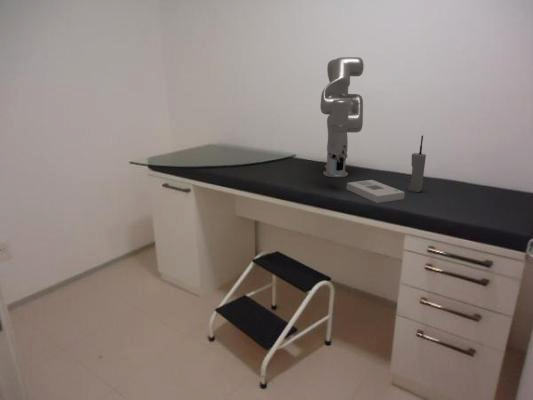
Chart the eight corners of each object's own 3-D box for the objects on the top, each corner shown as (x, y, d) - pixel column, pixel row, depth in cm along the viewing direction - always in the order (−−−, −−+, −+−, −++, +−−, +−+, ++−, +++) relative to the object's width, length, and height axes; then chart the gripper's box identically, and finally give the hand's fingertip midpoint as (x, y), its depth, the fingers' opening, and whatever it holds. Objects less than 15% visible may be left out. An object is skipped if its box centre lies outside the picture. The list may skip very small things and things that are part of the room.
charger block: (329, 173, 184) (329, 158, 181) (337, 171, 185) (338, 157, 183) (334, 175, 180) (335, 160, 177) (343, 174, 181) (344, 159, 179)
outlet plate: (346, 189, 183) (346, 182, 182) (371, 185, 188) (372, 179, 187) (377, 203, 163) (377, 195, 162) (404, 199, 169) (404, 191, 168)
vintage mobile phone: (410, 188, 183) (416, 134, 176) (421, 190, 180) (428, 135, 173) (407, 190, 181) (413, 135, 173) (418, 192, 178) (425, 136, 170)
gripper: (321, 126, 182) (319, 165, 188) (342, 132, 167) (339, 174, 173) (335, 125, 184) (333, 163, 190) (357, 131, 170) (354, 172, 176)
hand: (336, 168), depth 182 cm, fingers closed on charger block, 4 cm apart
